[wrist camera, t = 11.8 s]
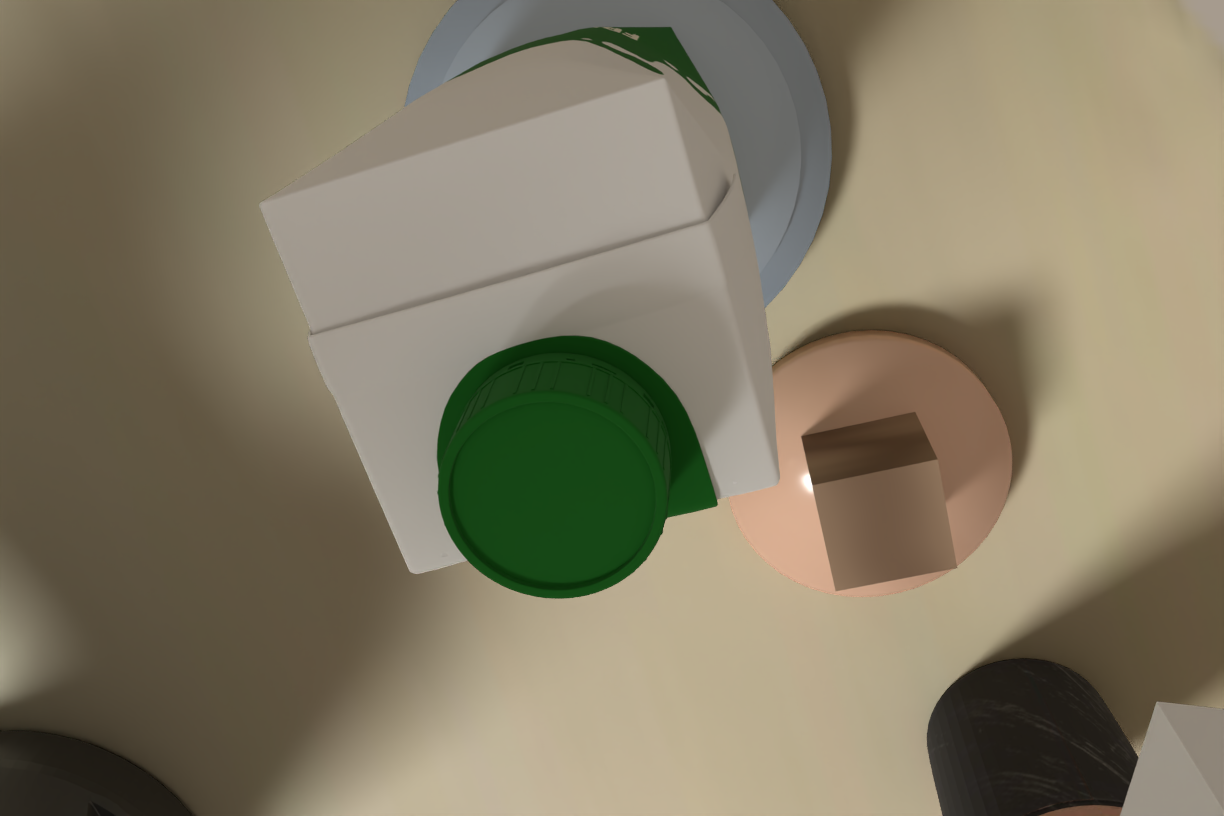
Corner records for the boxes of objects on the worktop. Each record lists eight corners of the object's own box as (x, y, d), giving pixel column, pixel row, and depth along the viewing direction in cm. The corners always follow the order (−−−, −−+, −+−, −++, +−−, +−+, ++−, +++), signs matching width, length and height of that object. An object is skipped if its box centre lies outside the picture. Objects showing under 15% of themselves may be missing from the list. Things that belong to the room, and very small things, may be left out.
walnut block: (823, 534, 43) (835, 591, 39) (801, 436, 41) (812, 485, 37) (933, 512, 42) (957, 568, 38) (915, 411, 41) (937, 459, 37)
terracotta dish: (709, 565, 45) (710, 580, 44) (745, 315, 41) (746, 325, 40) (972, 594, 44) (979, 611, 43) (1032, 346, 41) (1041, 357, 40)
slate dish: (403, 332, 42) (393, 346, 41) (414, -91, 37) (404, -92, 35) (793, 375, 42) (797, 390, 40) (861, -46, 36) (868, -45, 35)
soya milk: (515, 330, 40) (365, 668, 21) (423, 68, 37) (154, 198, 18) (766, 260, 39) (836, 558, 20) (691, -19, 36) (692, 28, 17)
